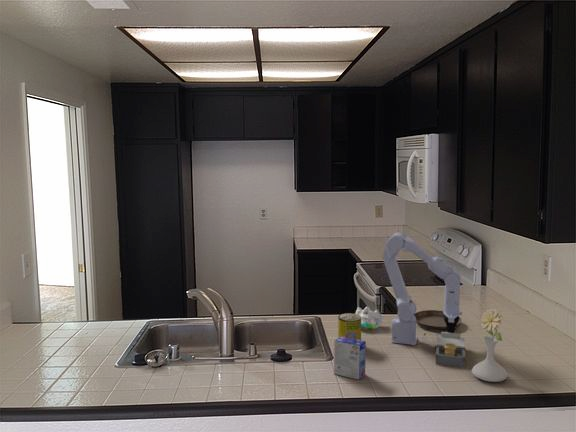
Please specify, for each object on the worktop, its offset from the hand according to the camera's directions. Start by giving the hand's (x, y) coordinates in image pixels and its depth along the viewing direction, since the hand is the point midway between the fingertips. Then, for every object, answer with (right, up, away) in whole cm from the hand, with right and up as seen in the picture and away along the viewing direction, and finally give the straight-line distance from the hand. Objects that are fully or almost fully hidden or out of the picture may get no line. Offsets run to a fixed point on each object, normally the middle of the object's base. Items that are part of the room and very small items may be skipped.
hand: (450, 334), depth 202 cm
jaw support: (-30, -2, +23) cm, 38 cm away
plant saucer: (+2, -2, +26) cm, 26 cm away
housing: (-3, -6, -9) cm, 11 cm away
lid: (-2, -2, -5) cm, 6 cm away
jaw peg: (-5, -7, -13) cm, 16 cm away
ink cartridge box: (-42, -9, -23) cm, 49 cm away
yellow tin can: (-40, -5, +2) cm, 40 cm away
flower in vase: (+4, -9, -28) cm, 29 cm away
